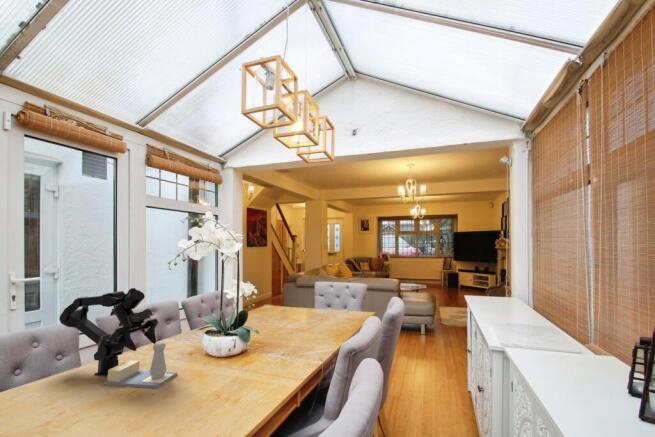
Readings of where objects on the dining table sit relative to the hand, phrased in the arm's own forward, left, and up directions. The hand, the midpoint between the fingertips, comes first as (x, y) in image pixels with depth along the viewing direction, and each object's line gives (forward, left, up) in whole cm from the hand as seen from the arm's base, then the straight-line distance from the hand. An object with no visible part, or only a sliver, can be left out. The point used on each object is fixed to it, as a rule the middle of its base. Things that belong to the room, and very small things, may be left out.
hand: (145, 346), depth 124 cm
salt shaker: (+7, -1, -11) cm, 13 cm away
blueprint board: (0, -1, -12) cm, 12 cm away
